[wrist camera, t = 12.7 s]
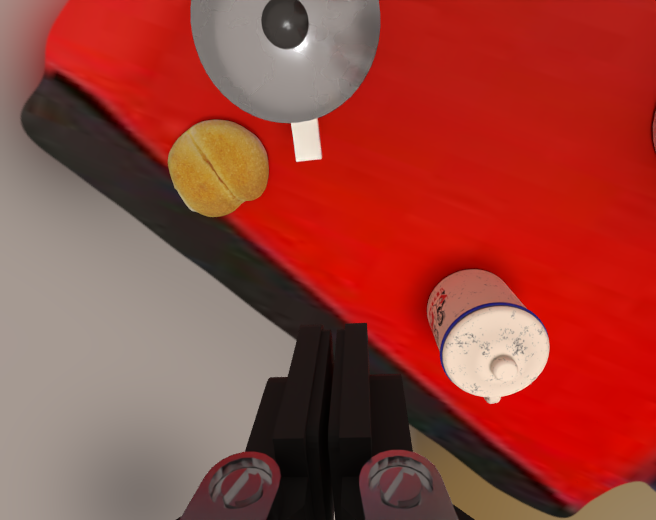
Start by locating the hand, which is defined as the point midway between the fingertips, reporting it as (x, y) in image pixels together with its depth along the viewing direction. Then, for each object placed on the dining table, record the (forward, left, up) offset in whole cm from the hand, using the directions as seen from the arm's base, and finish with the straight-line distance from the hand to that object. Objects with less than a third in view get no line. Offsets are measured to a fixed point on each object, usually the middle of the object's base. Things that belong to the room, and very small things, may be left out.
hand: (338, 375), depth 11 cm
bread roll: (+11, -1, -33) cm, 35 cm away
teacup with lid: (-12, +17, -33) cm, 38 cm away
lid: (+3, -11, -24) cm, 27 cm away
